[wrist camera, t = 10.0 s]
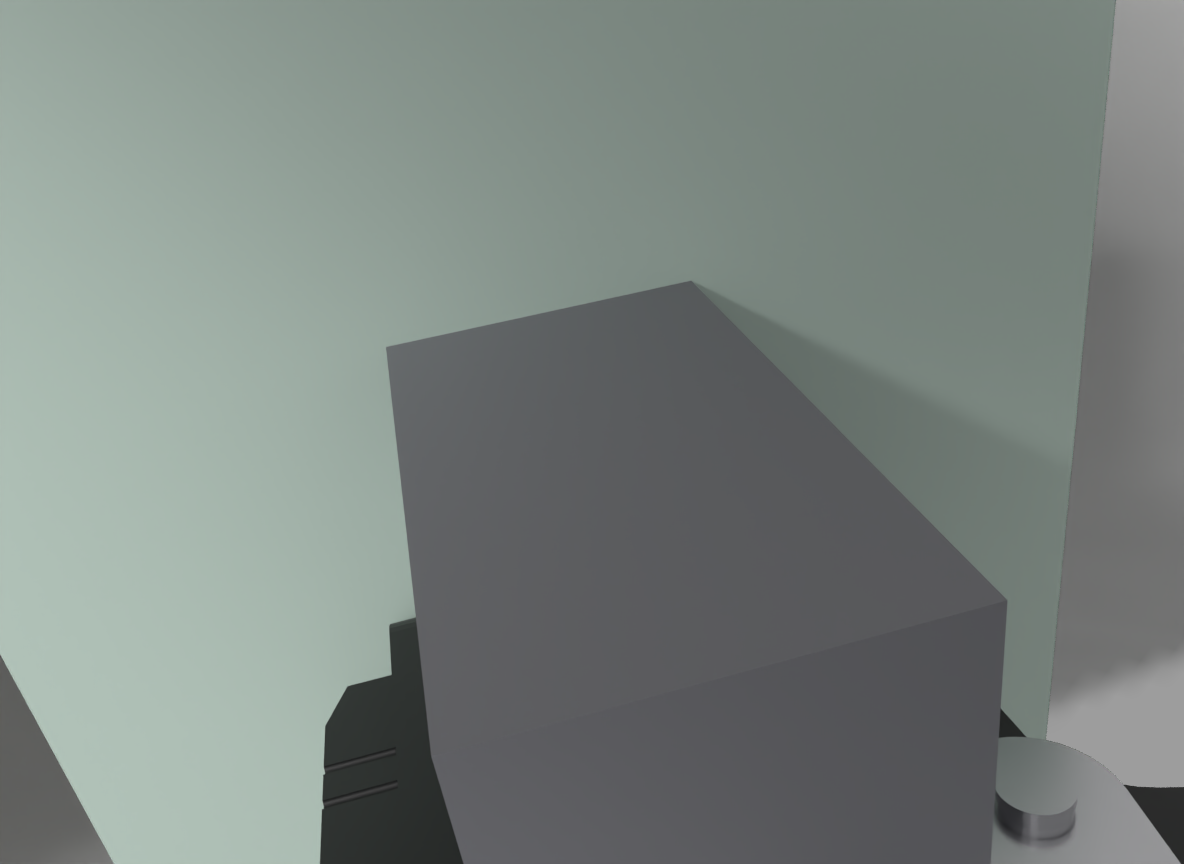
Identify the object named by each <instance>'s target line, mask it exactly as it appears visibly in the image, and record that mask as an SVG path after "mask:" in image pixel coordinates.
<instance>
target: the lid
mask: <svg viewBox="0 0 1184 864" xmlns="http://www.w3.org/2000/svg"><path fill="white" fill-rule="evenodd" d="M1115 5H1116V0H0V655H1V657H2V659H3V661H4V662H5V664H6V666H7V668H8V670H9V672H10V674H11V675H12V677H13V679H14V681H15V683H16V685H17V686H18V688H19V690H20V692H21V694H22V696H23V697H24V699H25V701H26V703H27V705H28V707H29V709H30V710H31V712H32V714H33V716H34V718H35V720H36V721H37V723H38V725H39V727H40V729H41V731H42V732H43V734H44V736H45V738H46V740H47V742H48V743H49V745H50V747H51V749H52V751H53V753H54V755H55V756H56V758H57V760H58V762H59V764H60V766H61V767H62V769H63V771H64V773H65V775H66V777H67V778H68V780H69V782H70V784H71V786H72V788H73V790H74V791H75V793H76V795H77V797H78V799H79V801H80V802H81V804H82V806H83V808H84V810H85V812H86V813H87V815H88V817H89V819H90V821H91V823H92V825H93V826H94V828H95V830H96V832H97V834H98V836H99V837H100V839H101V841H102V843H103V845H104V847H105V848H106V850H107V852H108V854H109V856H110V858H111V860H112V861H113V863H114V864H320V847H321V821H322V809H324V806H323V801H322V795H323V775H324V774H325V770H324V743H325V725H326V724H327V722H328V720H329V718H330V717H331V715H332V713H333V711H334V709H335V708H336V706H337V704H338V702H339V701H340V699H341V697H342V695H343V693H344V692H345V690H346V688H347V686H350V685H354V684H358V683H362V682H366V681H370V680H374V679H377V678H381V677H385V676H389V675H392V672H391V654H390V636H389V626H390V624H392V623H396V622H400V621H404V620H408V619H412V618H416V623H417V632H418V641H419V650H420V659H421V668H422V677H423V686H424V695H425V704H426V713H427V722H428V731H429V740H430V749H431V757H432V760H433V764H434V767H435V770H436V774H437V777H438V780H439V784H440V787H441V790H442V794H443V797H444V800H445V804H446V807H447V810H448V814H449V817H450V820H451V824H452V827H453V830H454V834H455V837H456V840H457V844H458V847H459V850H460V854H461V857H462V860H463V864H991V850H992V834H993V819H994V803H995V788H996V772H997V757H998V741H999V726H1000V710H1001V709H1002V710H1003V711H1004V713H1005V714H1006V715H1007V716H1008V717H1009V718H1010V719H1011V720H1012V721H1013V723H1014V724H1015V725H1016V726H1017V727H1018V728H1019V729H1020V730H1021V731H1022V733H1023V734H1024V735H1025V736H1026V737H1030V738H1037V739H1044V740H1046V733H1047V723H1048V712H1049V702H1050V691H1051V680H1052V670H1053V659H1054V649H1055V638H1056V628H1057V617H1058V607H1059V596H1060V585H1061V575H1062V564H1063V554H1064V543H1065V533H1066V522H1067V511H1068V501H1069V490H1070V480H1071V469H1072V459H1073V448H1074V438H1075V427H1076V416H1077V406H1078V395H1079V385H1080V374H1081V364H1082V353H1083V343H1084V332H1085V321H1086V311H1087V300H1088V290H1089V279H1090V269H1091V258H1092V248H1093V237H1094V226H1095V216H1096V205H1097V195H1098V184H1099V174H1100V163H1101V152H1102V142H1103V131H1104V121H1105V110H1106V100H1107V89H1108V79H1109V68H1110V57H1111V47H1112V36H1113V26H1114V15H1115Z"/></svg>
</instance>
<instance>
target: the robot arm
mask: <svg viewBox="0 0 1184 864" xmlns="http://www.w3.org/2000/svg"><path fill="white" fill-rule="evenodd" d="M389 636H390V654H391V672H392V675H389V676H385V677H381V678H377V679H374V680H370V681H366V682H362V683H358V684H354V685H350V686H347V688H346V690H345V692H344V693H343V695H342V697H341V699H340V701H339V702H338V704H337V706H336V708H335V709H334V711H333V713H332V715H331V717H330V718H329V720H328V722H327V724H326V725H325V743H324V770H325V774H324V775H323V795H322V801H323V806H324V809H322V821H321V847H320V864H463V860H462V857H461V854H460V850H459V847H458V844H457V840H456V837H455V834H454V830H453V827H452V824H451V820H450V817H449V814H448V810H447V807H446V804H445V800H444V797H443V794H442V790H441V787H440V784H439V780H438V777H437V774H436V770H435V767H434V764H433V760H432V757H431V749H430V740H429V731H428V722H427V713H426V704H425V695H424V686H423V677H422V668H421V659H420V650H419V641H418V632H417V623H416V618H412V619H408V620H404V621H400V622H396V623H392V624H390V626H389ZM991 864H1184V787H1174V788H1173V787H1170V788H1154V787H1136V786H1128V785H1123V784H1122V783H1121V782H1120V780H1119V779H1118V778H1117V777H1116V776H1115V775H1114V774H1113V773H1111V771H1109V770H1108V769H1107V768H1106V767H1105V766H1103V765H1102V764H1100V763H1099V762H1097V761H1096V760H1094V759H1093V758H1091V757H1090V756H1088V755H1086V754H1083V753H1082V752H1080V751H1078V750H1076V749H1073V748H1070V747H1068V746H1065V745H1062V744H1060V743H1055V742H1052V741H1047V740H1044V739H1037V738H1030V737H1026V736H1025V735H1024V734H1023V733H1022V731H1021V730H1020V729H1019V728H1018V727H1017V726H1016V725H1015V724H1014V723H1013V721H1012V720H1011V719H1010V718H1009V717H1008V716H1007V715H1006V714H1005V713H1004V711H1003V710H1002V709H1001V710H1000V726H999V741H998V757H997V772H996V788H995V803H994V819H993V834H992V850H991Z"/></svg>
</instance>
